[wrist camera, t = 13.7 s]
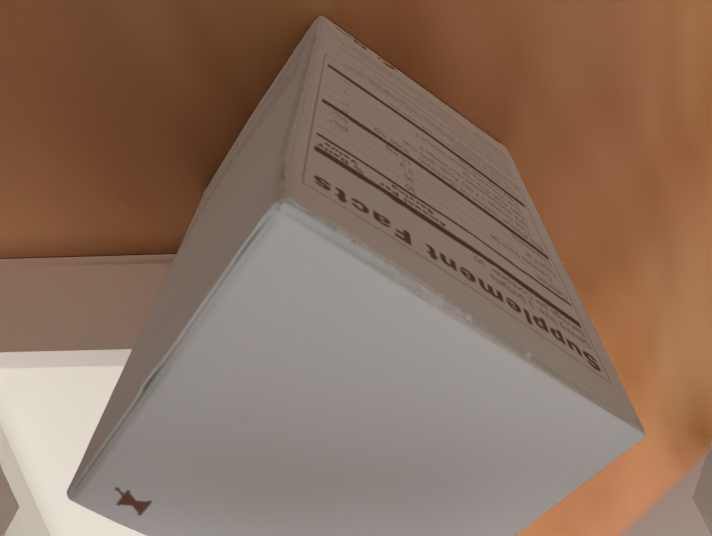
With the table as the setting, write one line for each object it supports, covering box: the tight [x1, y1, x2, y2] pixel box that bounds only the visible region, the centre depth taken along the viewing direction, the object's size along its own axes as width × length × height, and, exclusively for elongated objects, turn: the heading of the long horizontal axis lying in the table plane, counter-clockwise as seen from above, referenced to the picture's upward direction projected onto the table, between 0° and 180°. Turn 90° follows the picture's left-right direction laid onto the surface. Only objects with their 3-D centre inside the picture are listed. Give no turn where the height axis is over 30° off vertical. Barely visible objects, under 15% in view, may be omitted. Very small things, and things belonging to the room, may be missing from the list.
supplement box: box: [67, 15, 646, 536], centre depth 16 cm, size 7×7×13 cm
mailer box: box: [0, 254, 176, 536], centre depth 26 cm, size 16×13×5 cm
